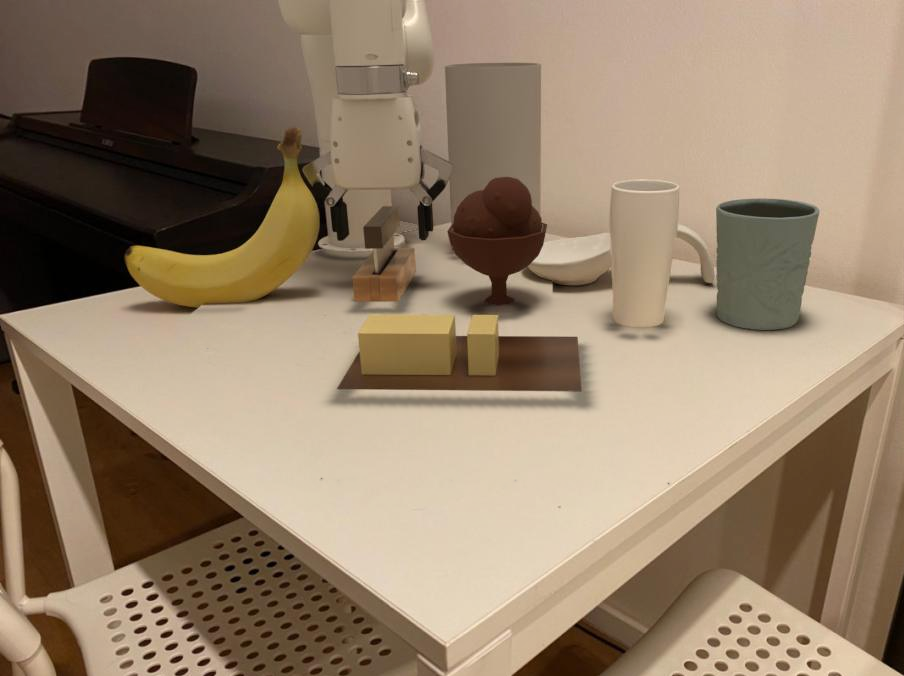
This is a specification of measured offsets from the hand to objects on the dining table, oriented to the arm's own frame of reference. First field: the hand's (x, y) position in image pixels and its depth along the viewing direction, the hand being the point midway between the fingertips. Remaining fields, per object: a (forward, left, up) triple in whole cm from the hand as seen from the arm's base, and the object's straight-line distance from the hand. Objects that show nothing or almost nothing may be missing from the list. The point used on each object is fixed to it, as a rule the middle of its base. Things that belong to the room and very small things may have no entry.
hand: (383, 237), depth 94 cm
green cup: (+8, +42, -7) cm, 43 cm away
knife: (0, 0, -6) cm, 6 cm away
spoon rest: (-6, +28, -7) cm, 30 cm away
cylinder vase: (-19, +12, -7) cm, 24 cm away
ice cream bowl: (+6, +14, -7) cm, 17 cm away
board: (+24, +12, -7) cm, 27 cm away
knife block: (0, 0, -7) cm, 7 cm away
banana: (+4, -18, -7) cm, 20 cm away
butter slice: (+25, +14, -6) cm, 29 cm away
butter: (+25, +7, -6) cm, 26 cm away
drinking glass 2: (+12, +29, -7) cm, 32 cm away
